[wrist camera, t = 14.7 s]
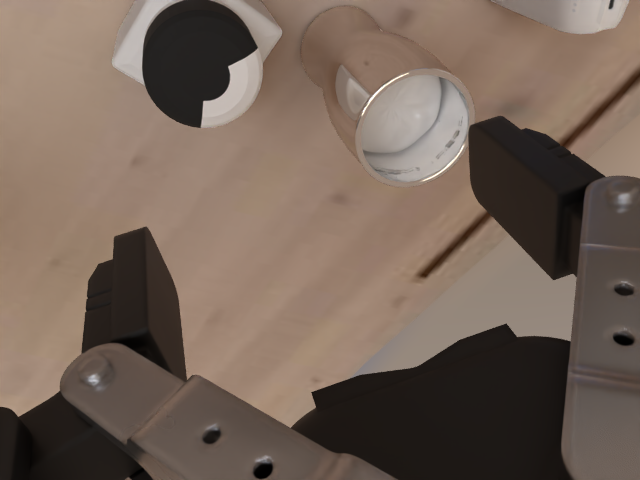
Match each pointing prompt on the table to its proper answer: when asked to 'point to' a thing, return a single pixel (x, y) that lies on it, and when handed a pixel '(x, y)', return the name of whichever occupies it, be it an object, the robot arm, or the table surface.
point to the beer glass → (387, 98)
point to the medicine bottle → (197, 55)
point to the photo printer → (570, 13)
